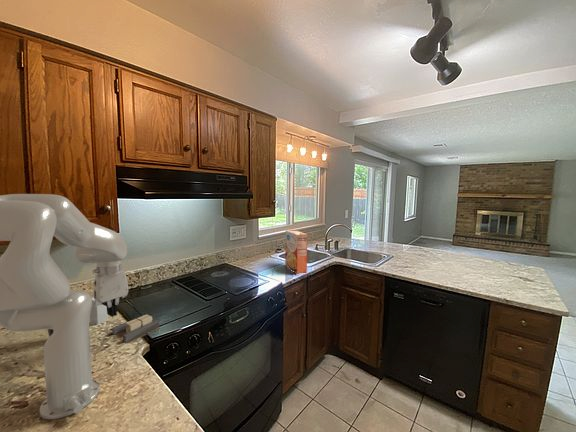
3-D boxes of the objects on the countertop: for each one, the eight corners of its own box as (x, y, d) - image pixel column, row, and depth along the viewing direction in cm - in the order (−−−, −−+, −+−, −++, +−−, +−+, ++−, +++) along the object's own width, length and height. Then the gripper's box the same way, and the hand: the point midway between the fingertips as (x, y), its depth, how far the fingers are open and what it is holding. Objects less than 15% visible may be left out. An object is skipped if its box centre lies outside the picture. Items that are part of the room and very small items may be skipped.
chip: (141, 330, 102) (141, 321, 101) (131, 335, 98) (130, 325, 98) (136, 327, 104) (136, 318, 103) (126, 332, 100) (125, 322, 100)
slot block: (160, 331, 104) (160, 322, 104) (127, 347, 93) (126, 337, 93) (143, 322, 111) (143, 314, 110) (111, 336, 100) (110, 327, 99)
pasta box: (285, 266, 200) (285, 230, 197) (294, 265, 203) (294, 229, 200) (296, 275, 179) (297, 234, 176) (306, 274, 182) (307, 234, 179)
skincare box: (108, 323, 110) (107, 297, 109) (97, 327, 106) (96, 301, 105) (100, 320, 112) (99, 295, 111) (89, 324, 109) (88, 298, 108)
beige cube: (152, 325, 106) (152, 316, 105) (143, 330, 102) (142, 320, 102) (147, 323, 108) (147, 314, 107) (138, 327, 104) (137, 318, 104)
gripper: (89, 277, 84) (93, 327, 86) (135, 265, 97) (138, 309, 99) (81, 272, 88) (84, 320, 90) (126, 262, 101) (128, 304, 103)
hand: (112, 315), depth 94 cm, fingers closed
